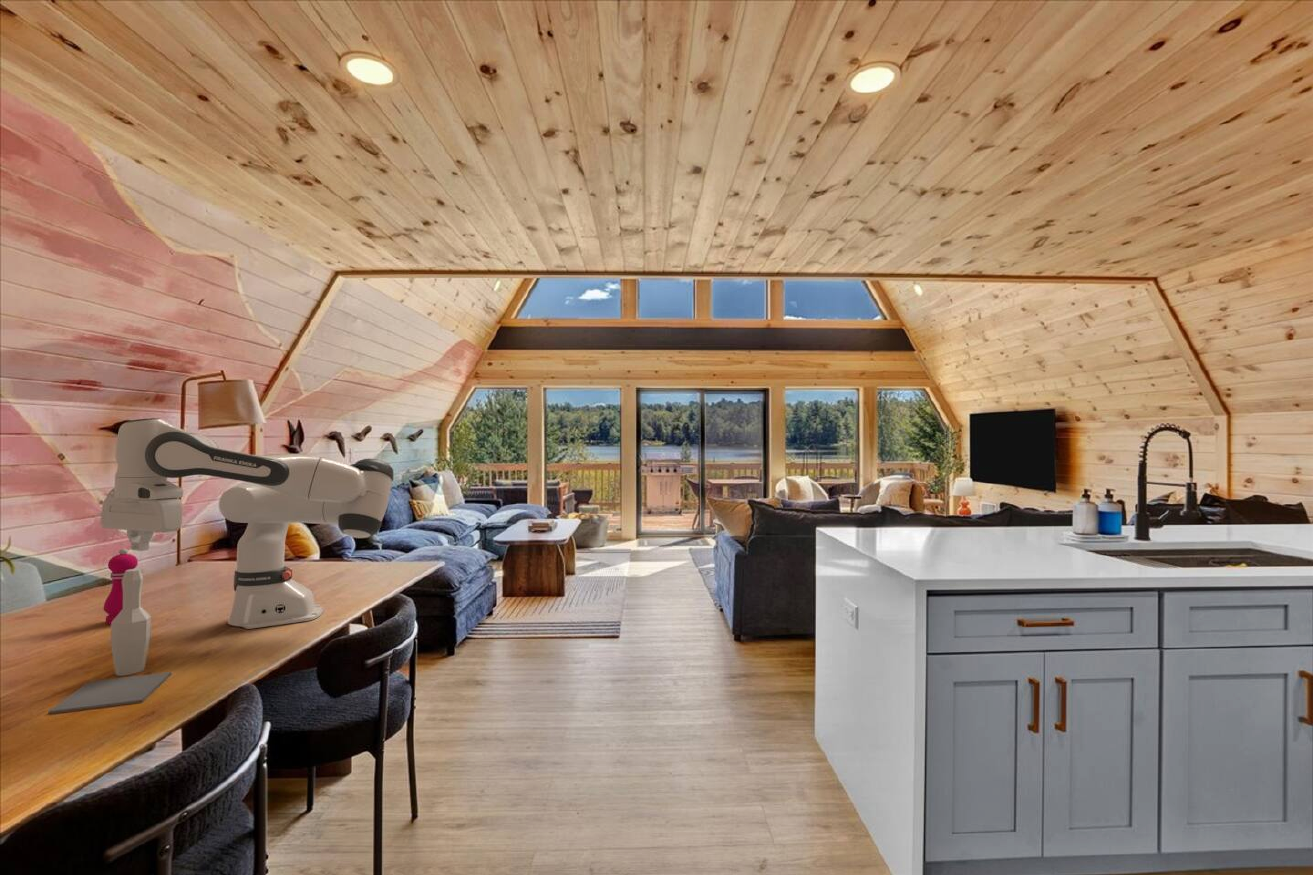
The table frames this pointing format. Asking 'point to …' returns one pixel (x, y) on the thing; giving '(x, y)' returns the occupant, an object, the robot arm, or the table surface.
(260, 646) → the table surface
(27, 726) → the table surface
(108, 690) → the grey square plate
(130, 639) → the low poly bottle
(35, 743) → the table surface
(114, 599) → the pepper mill
